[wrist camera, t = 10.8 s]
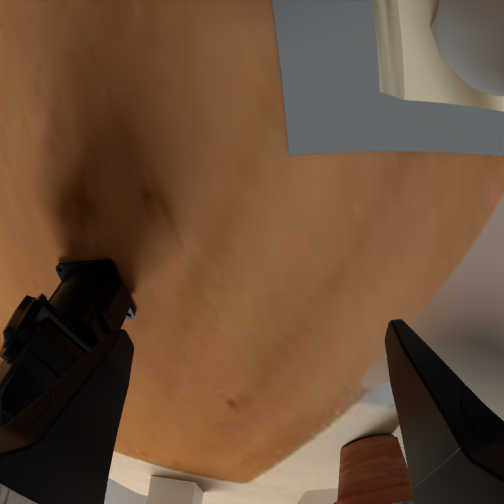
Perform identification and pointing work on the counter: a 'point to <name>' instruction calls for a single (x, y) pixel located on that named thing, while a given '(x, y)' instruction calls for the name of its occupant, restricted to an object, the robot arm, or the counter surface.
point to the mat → (361, 90)
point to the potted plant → (374, 473)
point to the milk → (173, 491)
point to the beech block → (419, 57)
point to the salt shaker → (472, 41)
